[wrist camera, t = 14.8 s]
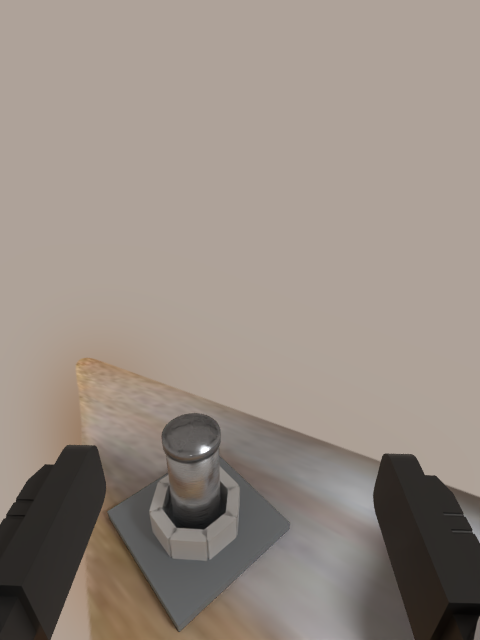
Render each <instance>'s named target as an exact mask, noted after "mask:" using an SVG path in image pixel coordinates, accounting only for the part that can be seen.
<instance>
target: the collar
mask: <svg viewBox="0 0 480 640" xmlns="http://www.w3.org/2000/svg"><path fill="white" fill-rule="evenodd" d="M219 471H220V502H221V517H220V518H218V519H217V520H216V521H214V522H213V523H212V524H211V525H209V526H208V527H207V528H206V529H204V530H202V529H186V528H176V527H175V525H174V517H173V509H172V500H171V492H170V484H169V475H168V473H167V474H166V475H164V476H162V477H161V478H159V479H158V480H156V481H155V482H153V483H151V484H150V485H148V486H147V487H145V488H143V489H142V490H140V491H139V492H137V493H136V494H134V495H132V496H131V497H129V498H128V499H126V500H125V501H123V502H121V503H120V504H118V505H117V506H115V507H114V508H112V509H110V510H109V511H107V512H108V516H109V518H110V520H111V522H112V523H113V525H114V527H115V528H116V530H117V532H118V533H119V535H120V536H121V538H122V540H123V541H124V543H125V545H126V546H127V548H128V550H129V551H130V553H131V554H132V556H133V558H134V559H135V561H136V563H137V564H138V566H139V568H140V569H141V571H142V572H143V574H144V576H145V577H146V579H147V581H148V582H149V584H150V586H151V587H152V589H153V590H154V592H155V594H156V595H157V597H158V599H159V600H160V602H161V604H162V605H163V607H164V608H165V610H166V612H167V613H168V615H169V617H170V618H171V620H172V622H173V623H174V625H175V626H176V628H177V630H178V631H179V632H180V631H181V630H182V629H183V628H184V627H185V626H186V625H187V624H188V623H189V622H190V621H191V620H193V619H194V618H195V617H196V616H197V615H198V614H199V613H200V612H201V611H202V610H203V609H204V608H205V607H206V606H207V605H209V604H210V603H211V602H212V601H213V600H214V599H215V598H216V597H217V596H218V595H219V594H220V593H221V592H222V591H223V590H224V589H226V588H227V587H228V586H229V585H230V584H231V583H232V582H233V581H234V580H235V579H236V578H237V577H238V576H239V575H240V574H241V573H243V572H244V571H245V570H246V569H247V568H248V567H249V566H250V565H251V564H252V563H253V562H254V561H255V560H256V559H257V558H259V557H260V556H261V555H262V554H263V553H264V552H265V551H266V550H267V549H268V548H269V547H270V546H271V545H272V544H273V543H274V542H276V541H277V540H278V539H279V538H280V537H281V536H282V535H283V534H284V533H285V532H286V531H287V530H288V529H289V526H290V522H289V521H287V520H286V519H285V518H284V517H283V516H282V515H281V514H280V513H279V512H278V511H277V510H276V509H275V508H274V507H273V506H272V505H271V504H270V503H269V502H268V501H266V500H265V499H264V498H263V497H262V496H261V495H260V494H259V493H258V492H257V491H256V490H255V489H254V488H253V487H252V486H251V485H250V484H249V483H248V482H247V481H245V480H244V479H243V478H242V477H241V476H240V475H239V474H238V473H237V472H236V471H235V470H234V469H233V468H232V467H231V466H230V465H229V464H228V463H227V462H226V461H224V460H223V459H222V458H221V457H220V456H219Z"/></svg>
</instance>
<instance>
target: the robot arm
mask: <svg viewBox="0 0 480 640" xmlns="http://www.w3.org/2000/svg"><path fill="white" fill-rule="evenodd" d="M105 492H106V481H105V477H104V473H103V469H102V465H101V461H100V456H99V452H98V449H97V447H96V446H93V445H67V446H66V447H65V448H64V449H63V451H62V452H61V454H60V456H59V457H58V459H57V461H56V463H55V464H54V465H46V464H45V465H44V466H43V467H42V468H41V469H40V470H38V472H36V473H35V474H34V475H33V476H32V477H31V478H30V479H29V480H28V481H27V482H26V484H25V485H24V487H23V489H22V490H21V492H20V494H19V495H18V497H17V498H16V502H15V503H13V505H12V506H11V508H10V510H9V511H8V513H7V514H6V518H5V519H3V521H2V522H1V524H0V640H51V637H52V634H53V632H54V629H55V627H56V624H57V621H58V619H59V616H60V614H61V611H62V608H63V606H64V603H65V600H66V598H67V596H68V593H69V590H70V588H71V585H72V583H73V580H74V578H75V575H76V572H77V570H78V567H79V565H80V562H81V559H82V557H83V554H84V552H85V549H86V547H87V544H88V541H89V539H90V536H91V534H92V531H93V529H94V526H95V523H96V521H97V518H98V516H99V513H100V511H101V508H102V505H103V502H104V498H105ZM373 500H374V508H375V513H376V516H377V519H378V523H379V526H380V529H381V532H382V535H383V539H384V542H385V545H386V548H387V551H388V555H389V558H390V561H391V564H392V567H393V571H394V574H395V577H396V580H397V583H398V587H399V590H400V593H401V596H402V599H403V603H404V606H405V609H406V612H407V615H408V619H409V622H410V625H411V628H412V631H413V635H414V638H415V640H480V543H479V541H478V539H477V537H476V536H475V534H473V532H472V528H471V526H470V524H469V522H468V521H467V519H466V517H464V515H463V511H462V509H461V507H460V506H459V504H458V502H457V500H456V498H455V496H454V494H453V493H452V492H451V491H450V490H449V489H448V488H447V487H446V486H445V485H444V484H443V483H442V482H441V481H440V480H439V479H438V478H437V476H429V475H424V472H423V470H422V468H421V466H420V464H419V462H418V460H417V458H416V457H415V456H414V455H412V454H384V455H383V456H382V460H381V463H380V467H379V471H378V475H377V479H376V483H375V487H374V493H373Z"/></svg>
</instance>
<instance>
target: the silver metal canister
mask: <svg viewBox="0 0 480 640" xmlns="http://www.w3.org/2000/svg"><path fill="white" fill-rule="evenodd" d="M220 442H221V436H220V427H219V425H218V423H217V422H216V421H215V420H214V419H213V418H211V417H209V416H207V415H203V414H197V413H192V414H185V415H181V416H179V417H177V418H175V419H173V420H171V421H170V422H169V423H168V424H167V425H166V426H165V428H164V429H163V432H162V444H163V450H164V452H165V454H166V459H167V467H168V475H169V484H170V492H171V500H172V509H173V517H174V525H175V527H176V528H186V529H202V530H204V529H206V528H207V527H208V526H209V525H211V524H212V523H213V522H214V521H216V520H217V519H218V518H220V517H221V502H220V471H219V446H220Z"/></svg>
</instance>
